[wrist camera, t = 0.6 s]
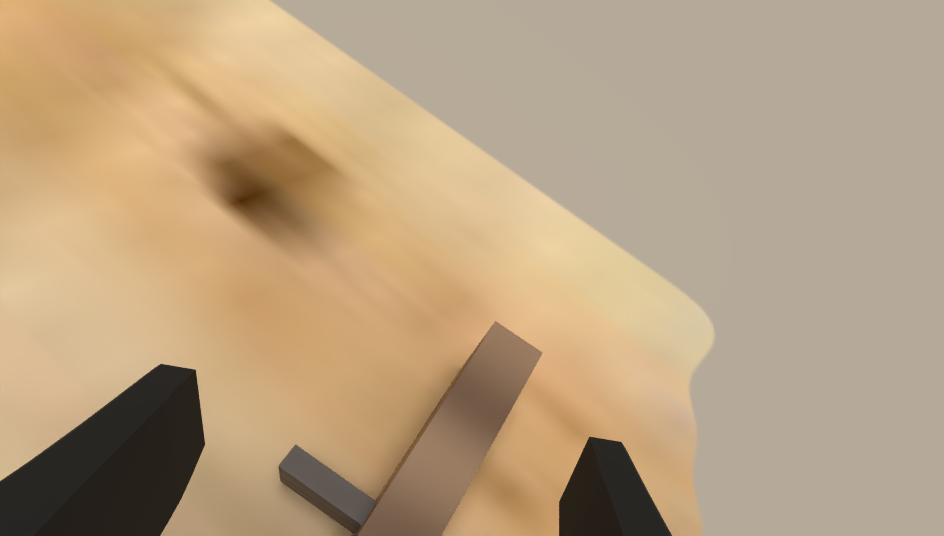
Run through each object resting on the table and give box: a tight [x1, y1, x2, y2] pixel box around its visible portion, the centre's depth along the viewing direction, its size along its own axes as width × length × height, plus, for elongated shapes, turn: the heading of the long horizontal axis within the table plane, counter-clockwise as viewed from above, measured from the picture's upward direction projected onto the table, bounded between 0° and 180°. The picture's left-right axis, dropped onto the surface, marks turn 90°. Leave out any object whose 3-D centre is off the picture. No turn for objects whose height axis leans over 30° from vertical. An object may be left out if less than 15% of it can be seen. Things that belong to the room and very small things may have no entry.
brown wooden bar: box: [279, 321, 542, 536], centre depth 22 cm, size 20×6×6 cm, turn 149°
